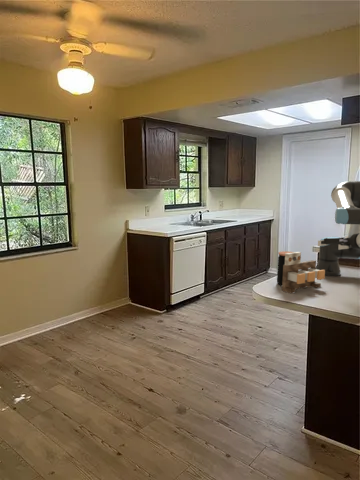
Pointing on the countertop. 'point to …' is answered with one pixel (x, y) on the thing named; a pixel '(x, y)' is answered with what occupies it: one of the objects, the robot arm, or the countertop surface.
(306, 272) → the button middle
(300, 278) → the button
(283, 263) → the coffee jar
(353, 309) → the countertop surface
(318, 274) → the button
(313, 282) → the button panel
